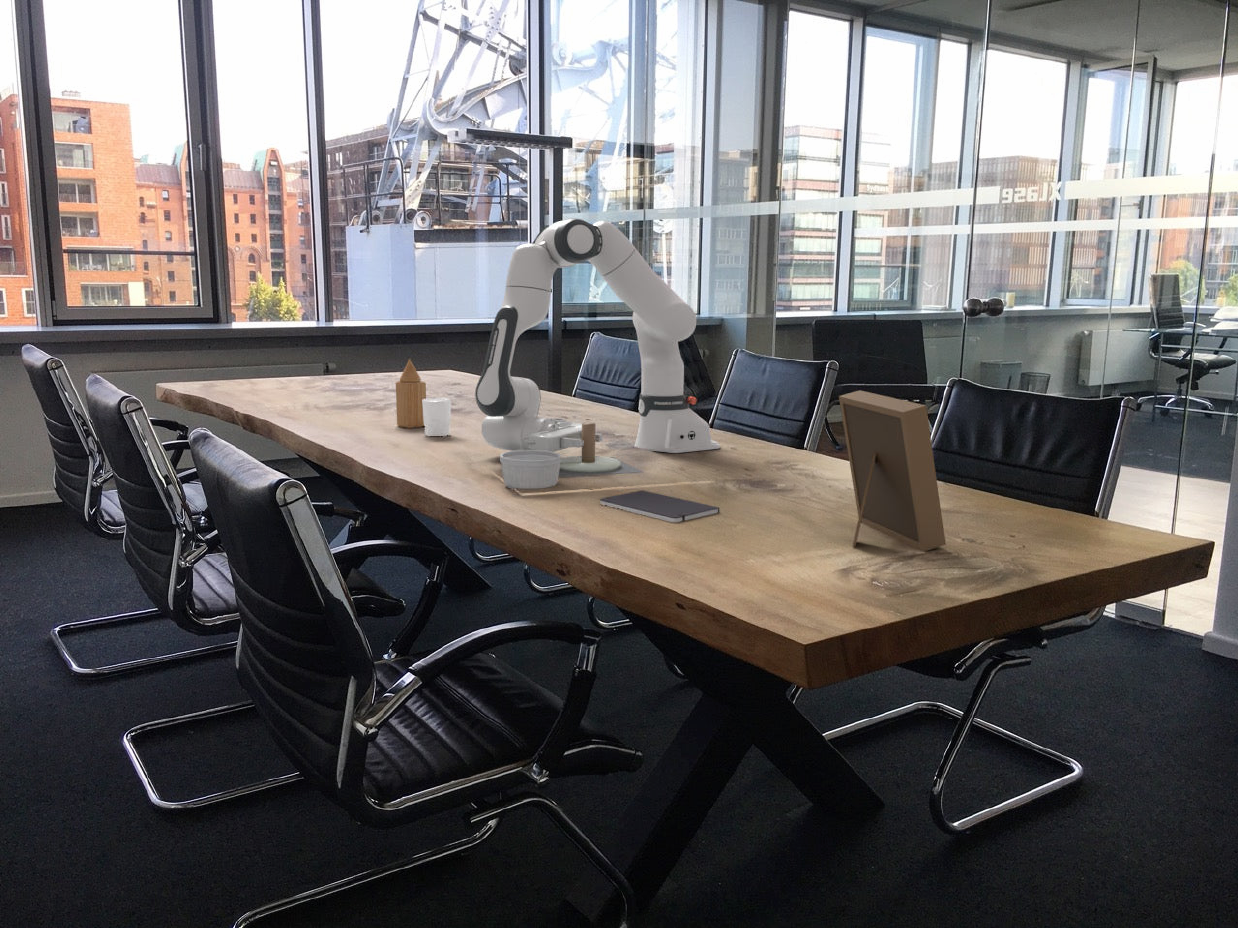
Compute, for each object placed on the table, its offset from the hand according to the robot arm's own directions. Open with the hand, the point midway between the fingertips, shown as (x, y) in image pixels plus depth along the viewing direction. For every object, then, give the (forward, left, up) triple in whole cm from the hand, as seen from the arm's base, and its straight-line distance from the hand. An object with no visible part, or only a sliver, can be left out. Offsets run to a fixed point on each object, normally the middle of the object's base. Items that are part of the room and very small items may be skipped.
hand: (591, 440), depth 243 cm
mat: (+1, -1, -7) cm, 7 cm away
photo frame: (-27, +74, -7) cm, 80 cm away
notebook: (+1, +41, -8) cm, 42 cm away
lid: (+1, -1, -6) cm, 6 cm away
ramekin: (+19, +13, -7) cm, 24 cm away
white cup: (+25, -61, -7) cm, 66 cm away
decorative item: (+29, -79, -7) cm, 84 cm away
